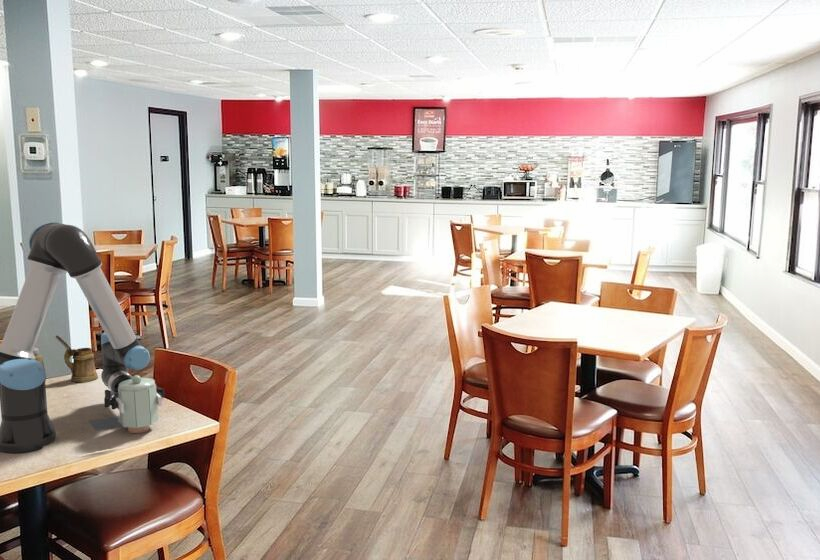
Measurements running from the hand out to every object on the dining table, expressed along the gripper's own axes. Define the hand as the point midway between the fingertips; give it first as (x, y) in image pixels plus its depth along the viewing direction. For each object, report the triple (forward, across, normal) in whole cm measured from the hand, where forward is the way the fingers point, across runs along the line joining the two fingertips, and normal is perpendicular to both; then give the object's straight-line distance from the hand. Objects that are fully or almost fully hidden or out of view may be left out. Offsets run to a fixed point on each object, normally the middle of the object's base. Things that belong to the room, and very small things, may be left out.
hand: (141, 405), depth 214 cm
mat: (-15, +6, -9) cm, 19 cm away
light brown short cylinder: (-4, 0, -9) cm, 10 cm away
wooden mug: (-70, +5, -10) cm, 71 cm away
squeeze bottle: (-67, +20, -10) cm, 71 cm away
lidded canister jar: (-4, 0, -6) cm, 8 cm away
